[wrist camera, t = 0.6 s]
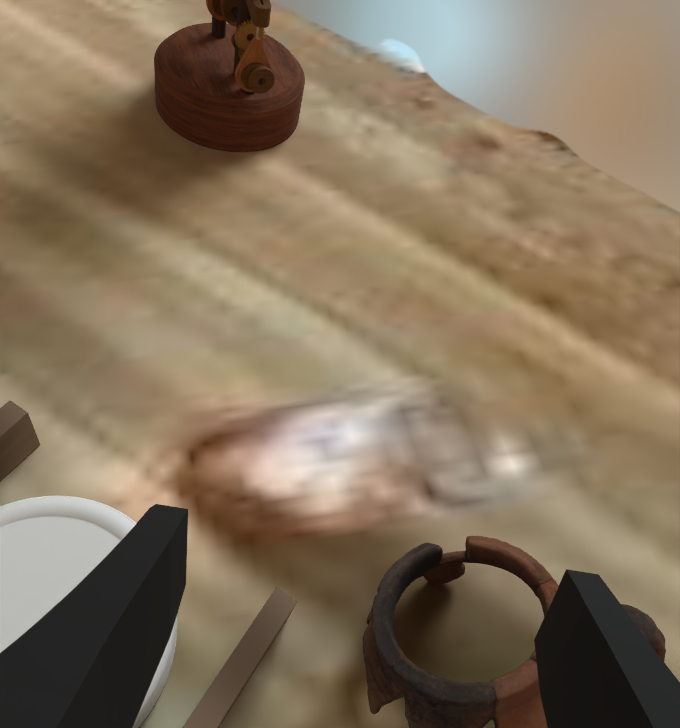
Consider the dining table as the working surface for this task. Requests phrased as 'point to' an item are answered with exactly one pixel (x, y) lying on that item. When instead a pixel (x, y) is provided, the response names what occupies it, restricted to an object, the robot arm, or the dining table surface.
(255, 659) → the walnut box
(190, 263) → the dining table surface
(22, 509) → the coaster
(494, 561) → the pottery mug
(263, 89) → the music box
